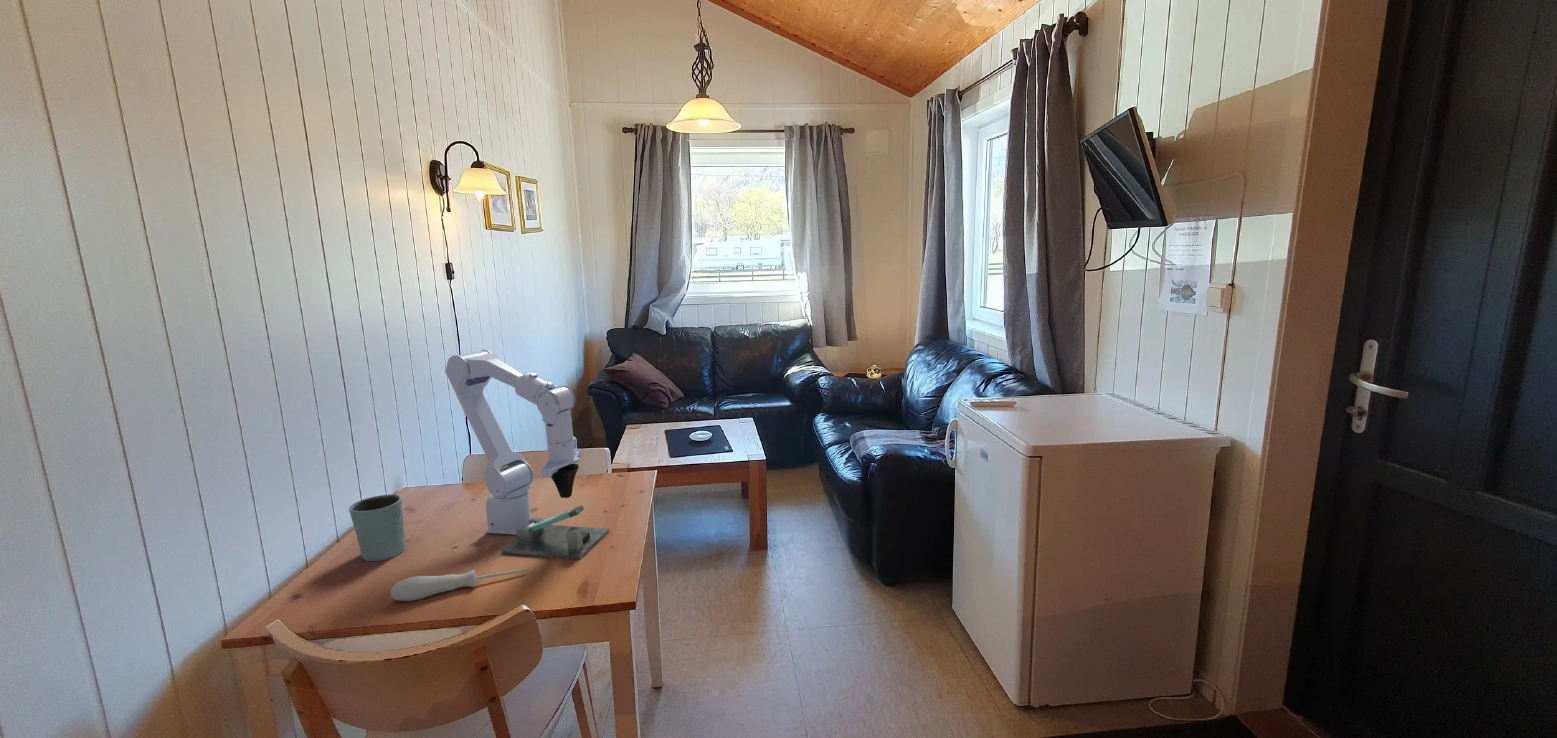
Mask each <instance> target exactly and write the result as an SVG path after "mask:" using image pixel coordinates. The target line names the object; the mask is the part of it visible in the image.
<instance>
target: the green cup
mask: <svg viewBox="0 0 1557 738" xmlns="http://www.w3.org/2000/svg"><path fill="white" fill-rule="evenodd" d="M348 510H349V511H348V512H349V513H350V514H349V515H350V519H351V521H352V523H353V528H354V532H355V534H356V540H357V542H358V546H359V551H360V555H361V558H362V560H363V561H366V562H379V561H383V560H385V561H386V560H388V559H391V558H394V557H396V556H398V555H401V554H402V553H403V552H404V551H405V550H406V547H407V546H406V538H405V528H404V526H405V525H404V523H405V522H404V513H403V499H402V496H401V495H399V494H380V495H376V496H371V497H366V498H364V499H361V500H359V501H357V502H354V503H352V504H351V505H350V506H349V509H348Z"/></svg>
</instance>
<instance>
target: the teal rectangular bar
mask: <svg viewBox="0 0 1557 738" xmlns="http://www.w3.org/2000/svg"><path fill="white" fill-rule="evenodd" d="M584 510H585V508H584V506H583V505H579V506H576V507H574V508H572V509H569V510H567V511H564V512H561V513H559V514H556V515H553V516H551V517H548V518H545V519H543V520H542V521H540V522H537V523H532V524H530V525H529V526H527V527H531V531H532V532H533V531H535V530H538V529H541V528H543V527H546V526H549V525H555V524H557V523H559V522H562V521H564V520H567V519H569V518H574V517H576V516H578V515H580V514H581V513H582V512H583V511H584Z"/></svg>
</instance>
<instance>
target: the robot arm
mask: <svg viewBox="0 0 1557 738" xmlns="http://www.w3.org/2000/svg"><path fill="white" fill-rule="evenodd" d="M444 371H445V372H444V373H445V374H446V376H447V378H448V381H449V383H450V385H451V387H452V389H453V391H454V393H455V395H456V398H457V400H458V402H459V404H460V406H461V408H462V411H463V412H464V414H465V416H466V418H467V420H468V422H469V424H470V427H471V428H472V430H473V432H474V435H475V436H476V438H477V440H478V442H479V445H480V447H481V448H482V449H483V452H484V454H485V456H486V458H487V460H488V462H487V464H486V466H485V467H484V469H483V471H482V473H483V475H484V476H483V477H484V478H485V481H486V483H485V484H486V487H487V490H488V492H489V493H490V494H489V495H488V497H487V498H486V502H485V512H486V520H487V521H486V522H487V530H486V533H487V534H495V535H496V534H498V535H500V534H501V535H511V536H513V535H514V536H517V532H516V529H517V528H518V527H527V526H529V519H531V518H532V514H531V504H530V493H529V490H531V484H533V481H534V479H535V472H534V469H533V467H532V466H531V465H530V463H528V462H527V460H526V459H525V458H524V456H523V454H521V453H520V452H519V453H518V452H516V451H513V450H511V447H510V445H509V443H508V441H507V440H506V436H505V435H504V433H503V431H502V430H501V428H500V425H499V424H498V421H497V419H496V417H495V415H494V412H493V411H492V409H491V407H490V405H489V404H488V401H487V400H486V397H485V395H484V393H483V392H484V389H485V387H487V385H488V383H489V382H490V380H491V379H492V378H493V379H494V380H497V381H499V382H502V383H504V384H506V385H508V386H510V387H512V388H514V391H515V394H516V395H517V396H519V397H521V398H522V399H524V400H526V401H528V402H530V403H532V404H534V405H535V406H536V407H537V409H538V411H539V412H540V414H541V417H542V421H543V423H544V427H545V428H544V429H545V436H546V444H547V454H548V460H547V461H546V462H545V465H544V466H543V467H542V468H541V469H540V472H541V478H550V479H551V480H552V481H553V483H554V485H555V487H556V489H557V491H558V495H559V496H560V497H559V498H561V499H569V498H570V497H572V496H573V495H572V494H573V489H574V481H575V478H576V474H577V472H578V470H579V464H578V463H579V462H580V461H581V458H582V457H583V452H582V448H575V441H574V432H573V430H574V429H573V421H572V411H571V409H573V408H574V406H575V404H576V397H575V393H574V392H573V390H572V388H570V387H568V386H567V385H565V384H562V385H558V386H557V385H554V383H553V382H548V381H546V380H545V379H542V378H541V377H539V376H538V374H537V373H535V372H527V373H525V374H523V373H522V372H520V371H518V370H517V369H515V368H513V366H512V367H511V365H508V364H507V363H505V362H503V360H501V359H499V356H498V355H497V353H494V352H492V351H490V350H488V349H481V350H479V351H473V352H469V353H463V354H459V355H458V354H454V355H452V356H450V357H449V358H448V360H447V363H446V367H445V370H444Z"/></svg>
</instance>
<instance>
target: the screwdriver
mask: <svg viewBox="0 0 1557 738" xmlns="http://www.w3.org/2000/svg"><path fill="white" fill-rule="evenodd" d="M528 571H530V568H519V569H516V570H515V569H514V570H509V571H502V572H496V573H492V574H491V573H490V574H484V575H478V574H477V573H476V571H475V569H472V570H470V571H468V572H466V573H461V574H455V573H451V574H445V575H417V576H411V577H407V578H404V579H402V580H400V581H397V582H395V584H394V585H393V586H392V587H391V588H390V597H391V598H392V599H393V600H394V601H400V602H413V601H418V600H423V599H424V598H427V597H430V596H433V595H437V594H440V593H444V592H448V591H454V590H456V589H458V588H459V589H460V588H463V587H469V588H476V586H477V585H476V584H477V582H478V580H481V579H488V578H493V577H501V576H505V575H512V574H517V573H523V572H524V573H525V572H528ZM477 575H478V576H477Z"/></svg>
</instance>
